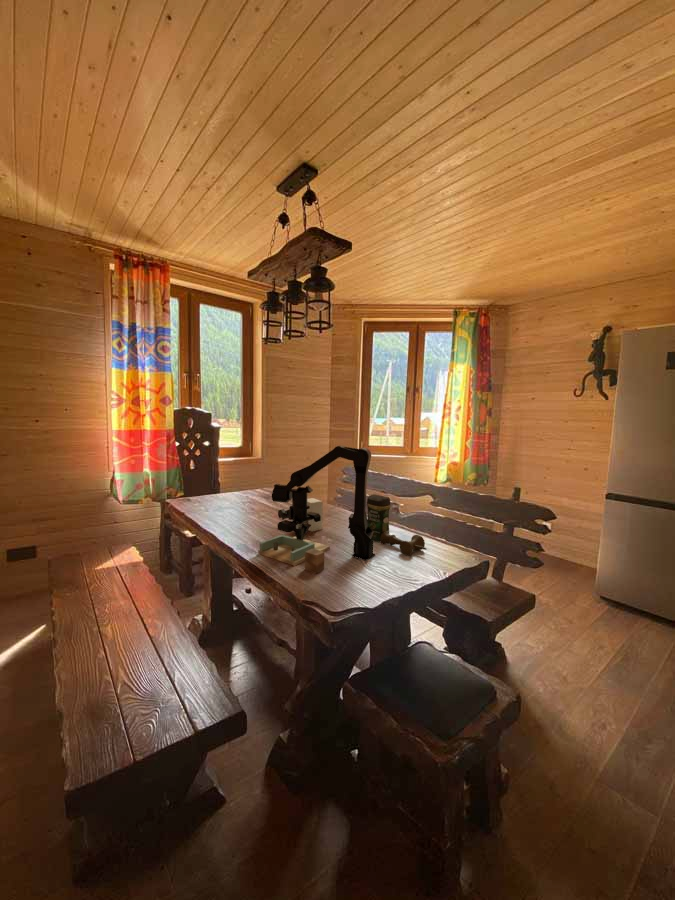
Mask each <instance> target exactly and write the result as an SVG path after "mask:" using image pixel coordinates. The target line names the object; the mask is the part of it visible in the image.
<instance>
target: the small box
mask: <svg viewBox="0 0 675 900" xmlns="http://www.w3.org/2000/svg"><path fill="white" fill-rule="evenodd" d="M307 505H308V506H310V509H307V513H308V512H314V513H319V515H320V516H321V521H318V522H315V521H314V519H312V520H310V521H308V524H310V525H311V526H310V527H309V529H308V532H311V533H312V532H317V531H321V530H323V523H324V522H323V519H324V518H323V515H324V509H323V507H324V501H323V500H319V499H318V498H314V497H312V498H307Z"/></svg>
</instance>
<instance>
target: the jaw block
mask: <svg viewBox="0 0 675 900" xmlns="http://www.w3.org/2000/svg"><path fill="white" fill-rule="evenodd" d="M304 569H305V570H306V571H309V572H312V573H315V574H318V573H319V572H321V571H323V570H325V552H323V551H319V550H316V549H311V550H308V551H306V552H305V561H304Z"/></svg>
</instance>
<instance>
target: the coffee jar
mask: <svg viewBox="0 0 675 900" xmlns="http://www.w3.org/2000/svg"><path fill="white" fill-rule="evenodd" d="M366 507H367V521H368V526H369V527H370V528H371V529H372V531H373V532H374V533H373V535H372V537H371V539H372V540H374V541H375V542H378V543H381V541H380V537H381V534H382V533H383V532H387V533H388V534H389V535H390V517H389V516H390V508H391V499H390V497H388V496H385V495H379V494H371V495H370V494H369V495H368V496H367V498H366ZM374 541H373V542H374Z"/></svg>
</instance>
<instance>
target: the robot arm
mask: <svg viewBox="0 0 675 900" xmlns="http://www.w3.org/2000/svg"><path fill="white" fill-rule="evenodd" d="M339 458H342V459H345V460H349V461H353V467H354V472H355V483H354V484H355V486H354V487H355V488H354V509H353V513H351V514H350V515H349V516H348V526H347V529H349V533H350V534H351V536H352V537H353V539H354V542H353V550H352V551H353V552H352V553H353V554H351V557H352V558H353V557H354V558H356V559H360V560H364V561H369V560H370V559H372V558H374V557H375V556H376V553H374V540H372V539H371V537H372V535H373V533H374V532H373V531H372V529H371V528H370V527H369V526H368V521H367V518H368V514H367V513H366V505H367V481H368V480H367V478H368V476H367V475H368V472H369V469H370V468H369V467H370V464H371V459H372V453H371V451H370V449H369V448H367V447H360V448H355V447H349V446H344V445H341V444H340V445H337V446H335V447H334V448H333V449H332V450H330V451H329V452H326V454H324V455H322V456H321V457H320V458H319V459H317V460H315V461H314V462H313V463H311V464H309V465H308V466H307V465H306V466H305V467H303V468H301V469H299V470H296V471H294V472H292V473H291V475H290V478H289V479H290V480H289V482H288V483H287V484H280V483H276V484H274V485H273V489H272V493H271V500H272V502H274V503H287V504H288V503H289V502H290V501H291V505H290V506H289V507H288V508H289V509H286V510H285V508H281V509H278V511H277V517H278V518H279V519H281V521H279V522H278V523H277V531H280V532H285V533H294V535H295V537H296V538H297V539H299V540H303V539H304V538H305V537H306V535H307V533H308V532H309V530H308V529H309V527H310V526H311V525H310V524H308V521H310V520H312V519H314V521H315V522H318V521H321V516H320V515H319V513H314V512H308V513H307V509H310V506H308V505H307V499H308V494H311V493H312V492H313V491H314V489H313V488H312V487H311V486H310V485H306V484H307V483H309V481H311V479H312V478H313V477H314V476H315V475H316V474H317V473H318V472H320V471H321V470H323V469H325V468H326V467H327V466H329V465H330V464H332V463H333V462H335V461H336V460H338V459H339ZM304 485H306V486H305V487H304ZM295 487H297V488H295ZM287 519H288V520H287Z"/></svg>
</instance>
